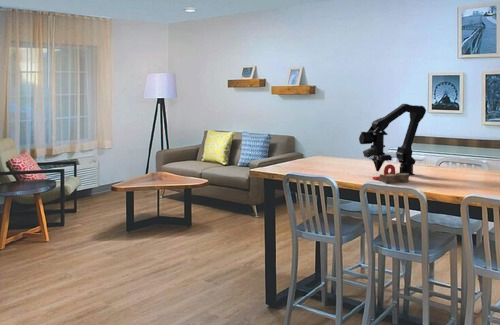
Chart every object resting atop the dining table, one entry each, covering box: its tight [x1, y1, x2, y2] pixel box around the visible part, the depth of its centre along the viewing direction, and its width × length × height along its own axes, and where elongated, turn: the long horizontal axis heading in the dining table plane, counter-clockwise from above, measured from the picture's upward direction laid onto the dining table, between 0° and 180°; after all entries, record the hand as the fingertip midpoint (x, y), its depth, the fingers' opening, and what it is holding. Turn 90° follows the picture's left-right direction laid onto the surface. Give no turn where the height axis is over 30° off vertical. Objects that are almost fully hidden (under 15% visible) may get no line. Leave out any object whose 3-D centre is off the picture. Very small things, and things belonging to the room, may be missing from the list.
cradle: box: [379, 172, 410, 185], centre depth 255 cm, size 13×8×5 cm, turn 107°
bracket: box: [372, 163, 396, 181], centre depth 264 cm, size 12×4×8 cm, turn 113°
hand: (377, 171), depth 270 cm, fingers closed
